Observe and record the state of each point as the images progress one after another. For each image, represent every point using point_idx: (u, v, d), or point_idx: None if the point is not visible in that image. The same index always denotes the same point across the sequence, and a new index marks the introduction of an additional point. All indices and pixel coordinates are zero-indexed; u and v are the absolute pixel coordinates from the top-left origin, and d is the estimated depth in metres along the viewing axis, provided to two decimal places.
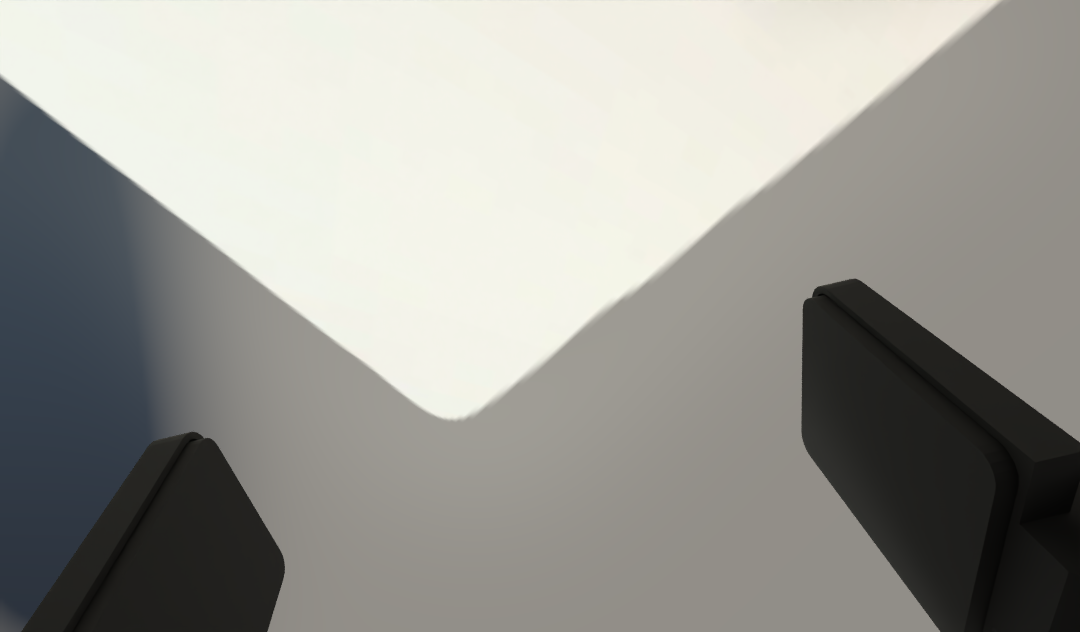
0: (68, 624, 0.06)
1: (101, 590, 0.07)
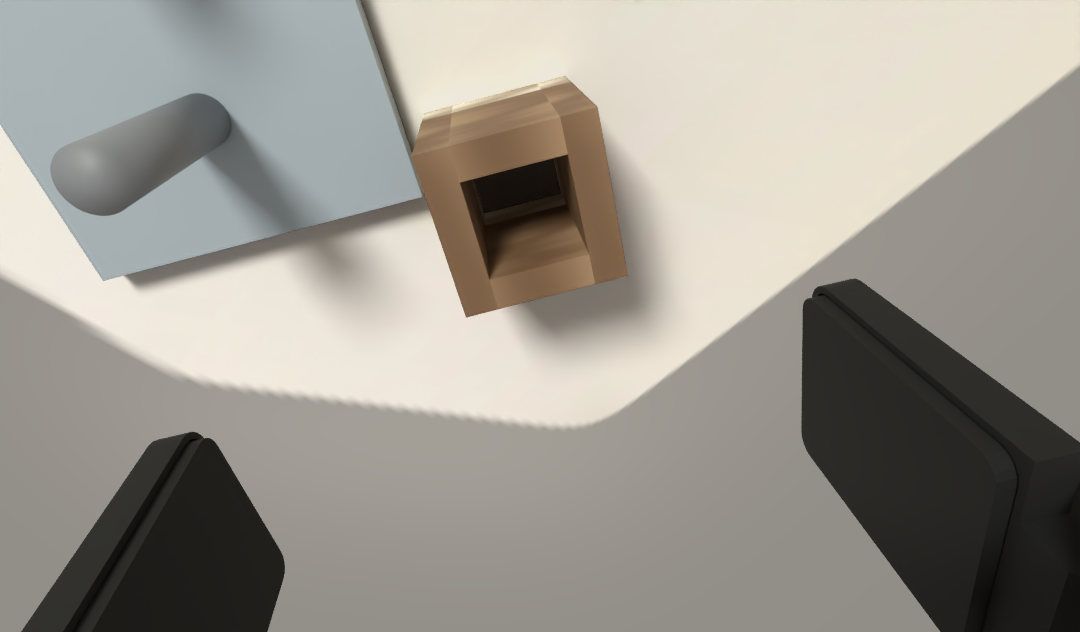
0: (67, 624, 0.06)
1: (101, 590, 0.07)
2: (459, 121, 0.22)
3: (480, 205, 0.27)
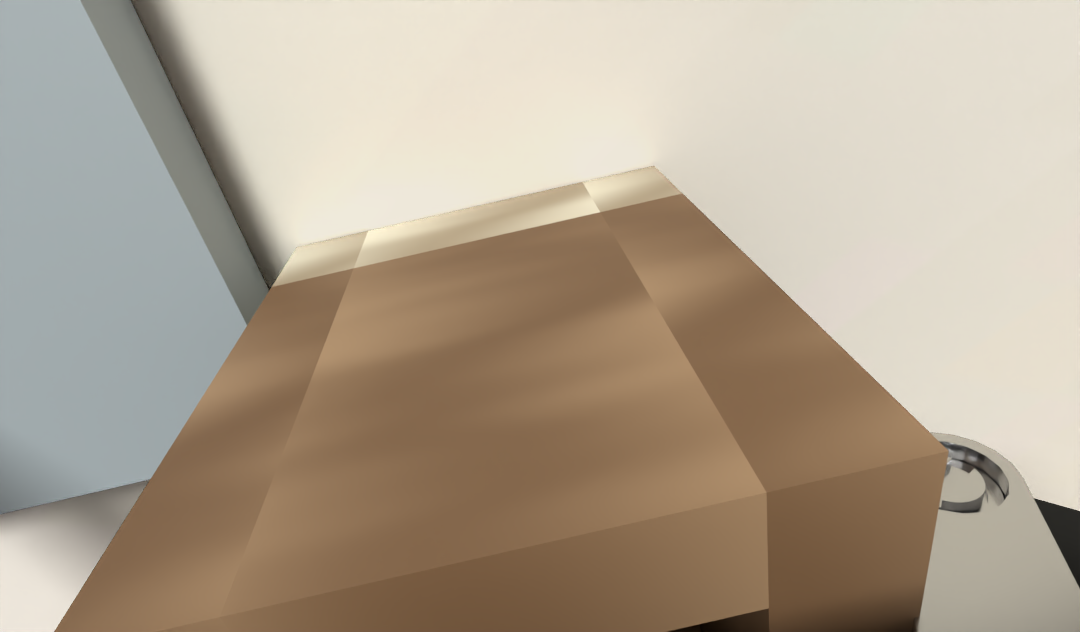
0: None
1: None
2: (353, 335, 0.07)
3: None
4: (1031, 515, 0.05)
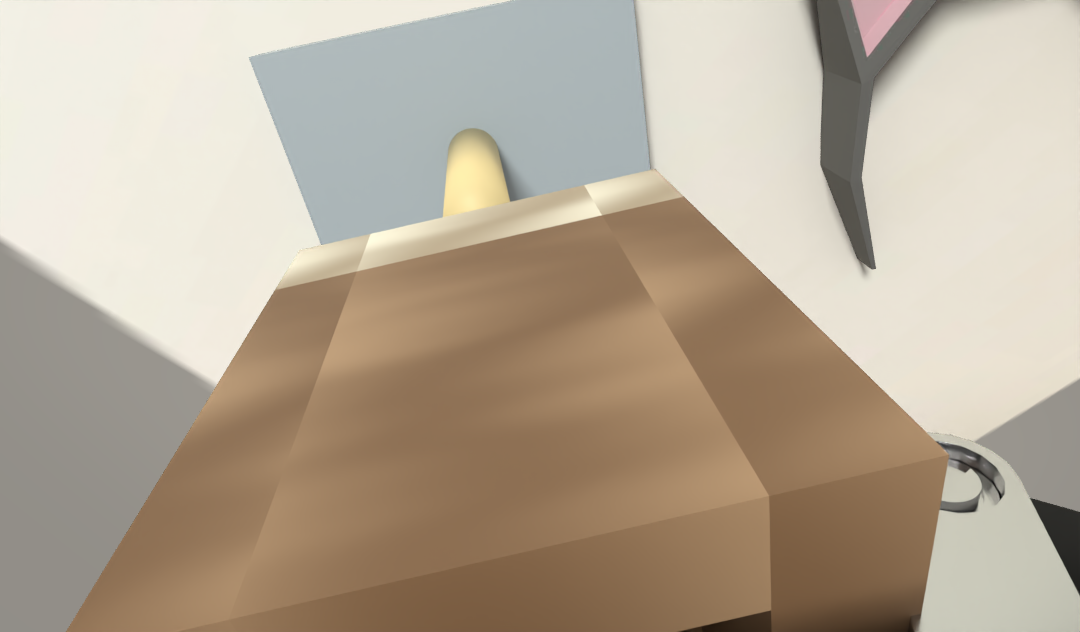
0: None
1: None
2: (357, 339, 0.07)
3: None
4: (1027, 515, 0.05)
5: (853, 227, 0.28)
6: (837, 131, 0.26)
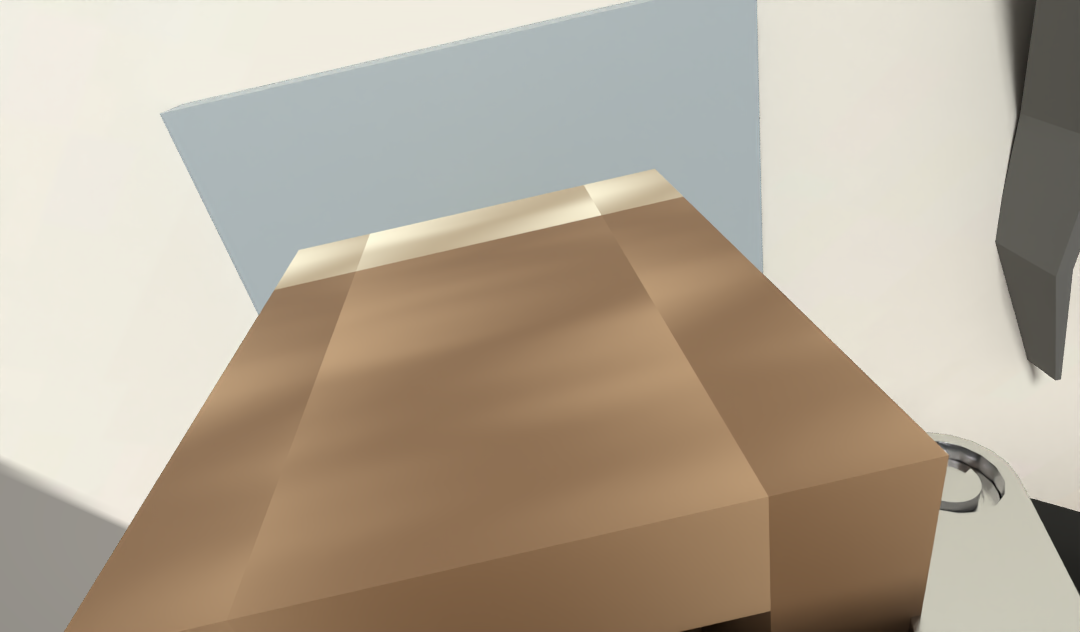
0: None
1: None
2: (356, 339, 0.07)
3: None
4: (1027, 514, 0.05)
5: (1036, 326, 0.20)
6: (1037, 202, 0.18)
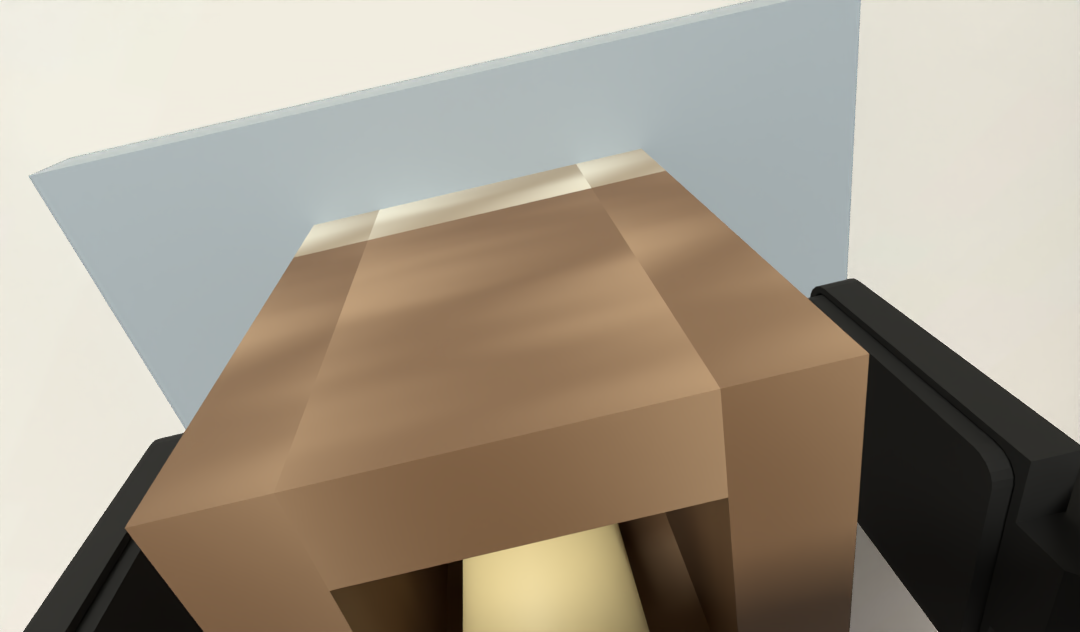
0: (70, 622, 0.06)
1: (104, 588, 0.07)
2: (371, 292, 0.08)
3: None
4: None
5: None
6: None
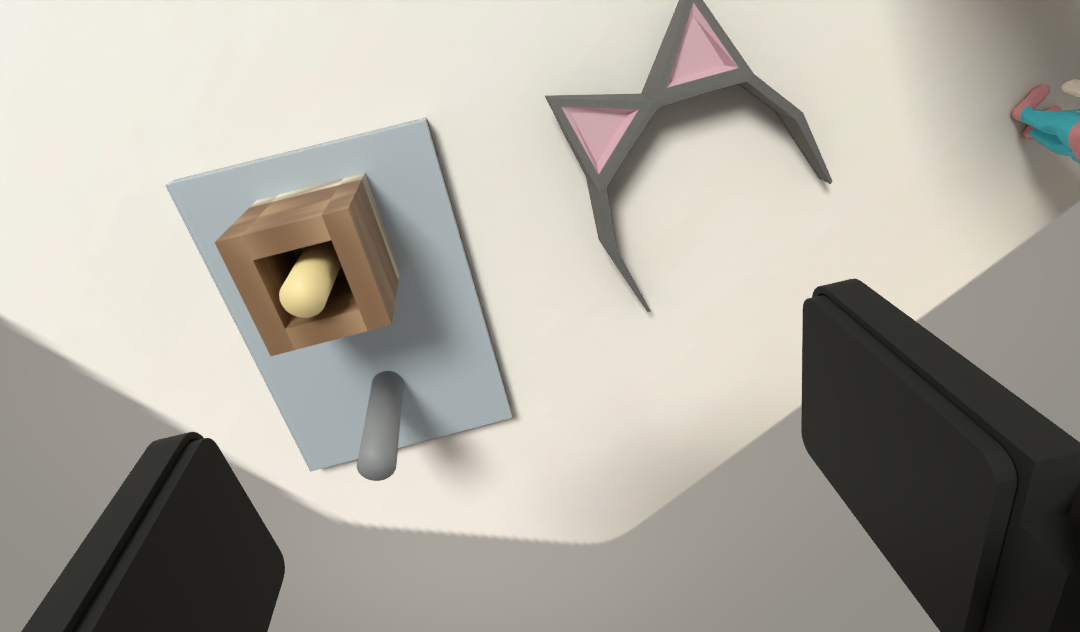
0: (69, 625, 0.06)
1: (101, 590, 0.07)
2: (268, 211, 0.30)
3: None
4: None
5: None
6: (598, 219, 0.36)
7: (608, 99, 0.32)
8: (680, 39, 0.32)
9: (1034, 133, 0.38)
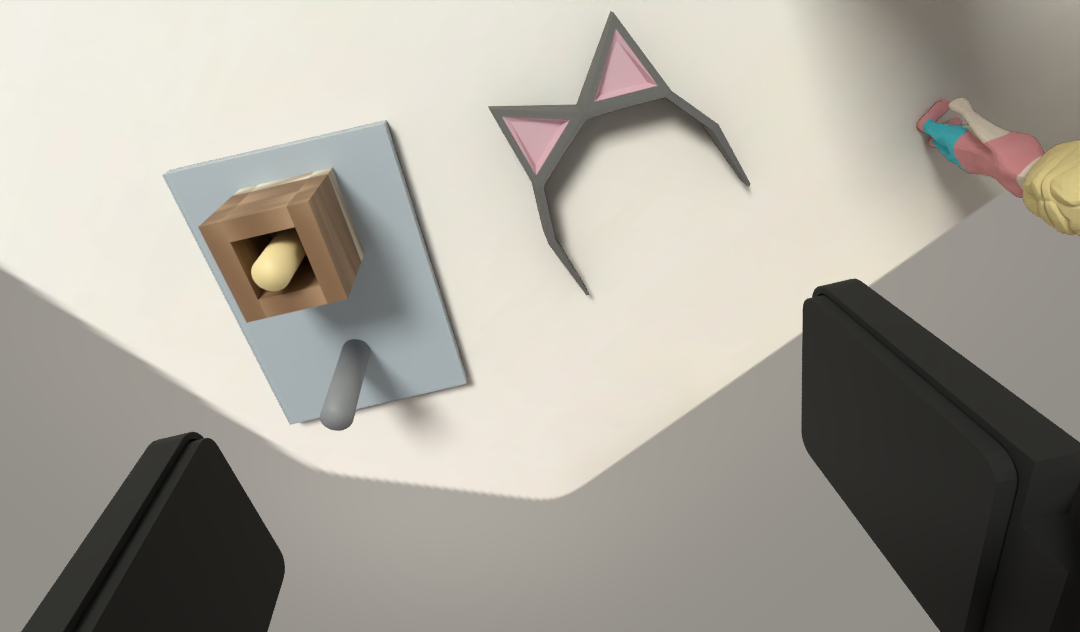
0: (68, 624, 0.06)
1: (101, 590, 0.07)
2: (246, 200, 0.36)
3: None
4: None
5: None
6: (540, 213, 0.42)
7: (543, 110, 0.37)
8: (605, 60, 0.36)
9: (935, 143, 0.43)
